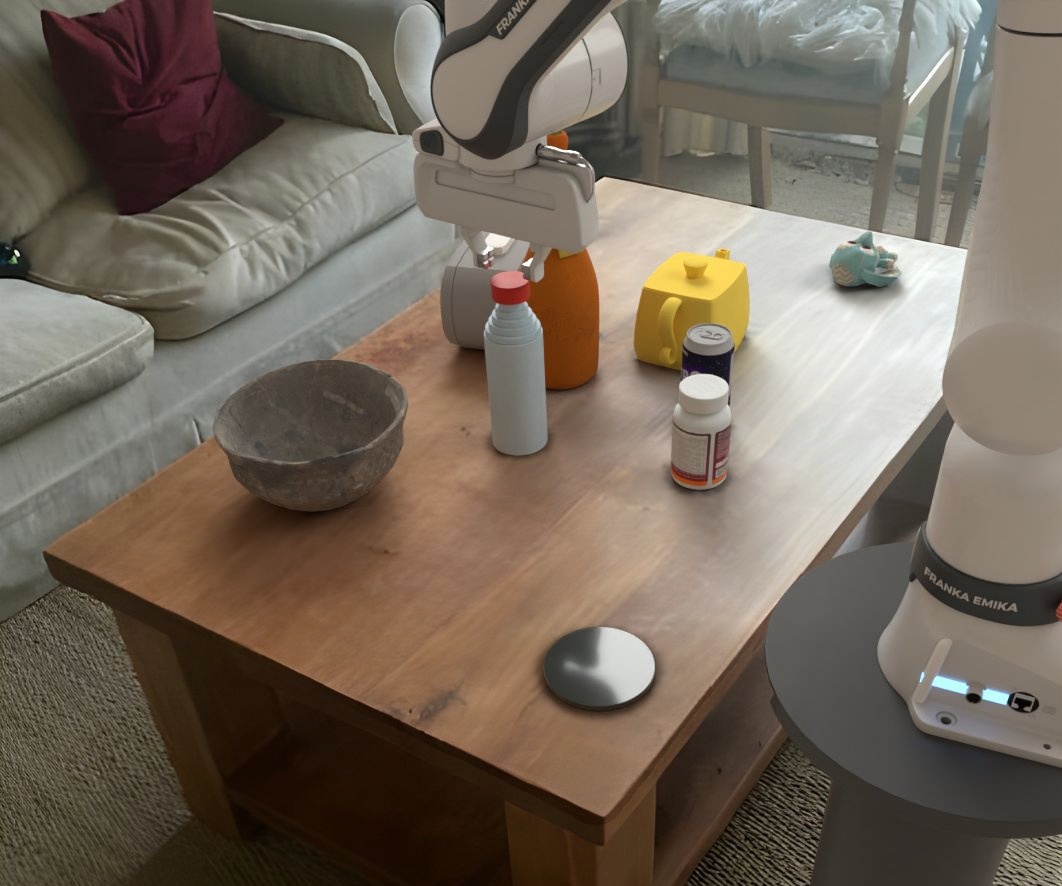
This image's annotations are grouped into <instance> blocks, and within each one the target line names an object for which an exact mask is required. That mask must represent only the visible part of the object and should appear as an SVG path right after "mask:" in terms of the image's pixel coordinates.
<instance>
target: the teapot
mask: <svg viewBox="0 0 1062 886" xmlns="http://www.w3.org/2000/svg"><path fill="white" fill-rule="evenodd" d="M730 256H731V249H728V248H722V247H721V248H719V249H717V250H716V251H715V255H714V256H710V255H706V254H705V255H703V254H700V253H693V252H687V251H678V252H675V253H674V254H672V255H671V256H670V257H669V258H667V259H666V260H665V261H663V263H661V264H660V265H659V266H658V267H656V269H655V270H654V271H653V272H652V273H651V274H650V276H649V277H648V278H647V279H646V281H645V282H644V283H643V285H642V288H641V292H640V296H639V301H638V304H637V305H638V306H637V311H636V316H635V322H634V331H633V348H634V352H635V355H636V358H637V360H639V361H641V362H644V363H647V364H652V365H656V366H660V367H663V368H664V367H665V368H668V369H672V370H675V371H680V372H681V368H682V347H683V341H684V339H685V338H686V336H687V331H688V330H689V329H690V328H691V327H693V326H695V325H698V324H703V323H715V324H720V325H723V326H725V327H727V328H728V329H729V330H730V331H731V333H732V339H733V341H734V343H735V348H734V354H735V353H736V351H737V350H738V349H739V347H740V345H741V343H742V342H743V340H744V337H745V335H746V333H747V331H748V327H749V322H750V308H751V306H750V305H751V304H750V303H751V301H750V286H749V278H748V270H747V265H746V264H745V263H744V262H740V261H736V260H731V259H730Z"/></svg>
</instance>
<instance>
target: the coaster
mask: <svg viewBox="0 0 1062 886" xmlns="http://www.w3.org/2000/svg"><path fill="white" fill-rule="evenodd" d="M543 676H544V679H545V683H546V685H547V687H548V688H549V690H550V691H551V693H552V694H553V695H554V696H556V697H557V698H558V699H559V700H560V701H562V702H564V703H565V704H567V705H569V706H571V707H574V708H578V709H581V710H586V711H594V712H595V711H596V712H607V711H613V710H618V709H622V708H625V707H627V706H630V705H632V704H634V703H635V702H637V701H639V700H641V698H642V697H643V696H645V694H647V692H649V690H650V689H651V687H652V685H653V683H654V680H655V677H656V661H655V657H654V655H653V652H652V650H651V649H650V648H649V647H648V645H647V644H646V643H645V642H644V641H643V640H642V639H641V638H639V637H638V636H636V635H634V634H632V633H631V632H628V631H626V630H622V629H620V628H615V627H610V626H589V627H584V628H580V629H576V630H573V631H571V632H569V633H566V634H564V635H562V636H561V637H560V638H558V639H557V640H556V641H555V642H554V643H553V644H552V645H551V646H550V648H549V649H548V650H547V652H546V654H545V657H544V660H543Z"/></svg>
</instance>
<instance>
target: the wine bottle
mask: <svg viewBox="0 0 1062 886" xmlns="http://www.w3.org/2000/svg"><path fill="white" fill-rule="evenodd" d="M547 146H551V147H555V148H558V149H561V150H565V151H568V148H569V136H568V135H567V132H565V131H564V130H563V129H561V130H559V131H556V132H554V133H551V134H549V135H547ZM534 254H535V252H531V251H530V246H529V248H528V250H527V253H526V256H525V259H524V262H523V264H524V263H525V262H528V260H530V259H531V258H533V256H534ZM521 272H522V273H524V272H523V268H522V269H521ZM529 283H530V297H529V299H528V300H527V301H525V302H527V304H528V307H530V308H531V310H532V312H533V313H534V314H535V315H536V318H537V319H538V320H539V321H540V324H541V327H542V329H543V346H544V369H545V389H549V390H569V389H573V388H577V387H580V386H582V385H584V384H586V383H588V382H589V381H591V380H592V379H593V378H594V377H595V375H596V373H597V371H598V367H599V358H600V357H599V354H600V353H599V352H600V289H599V282H598V278H597V274H596V270H595V268H594V265H593V262H592V259H591V256H590V254H589V252H588V249H587V247H586V248H585V249H583V250H582V251H580V252H578V253H570V252H566V251H562V250H558V249H554V248H552V249H551V251H550V253H549V254H548V256H547V258H546V260H545V261H544V276H543V278H542V279H541V280H540V281H538V282H537V283H536V282H533V281H529Z"/></svg>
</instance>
